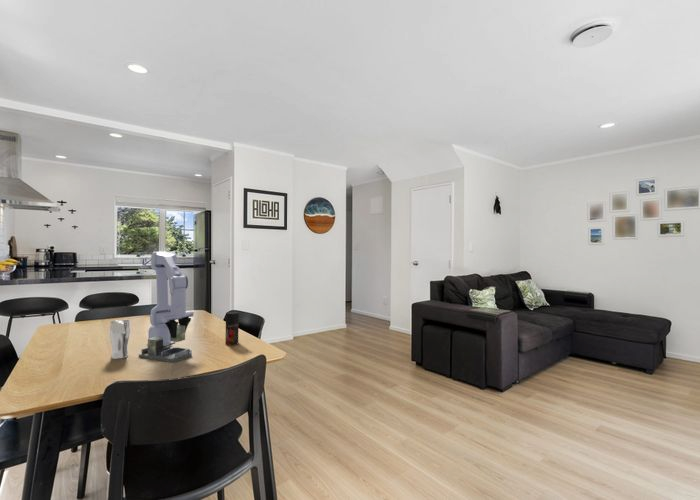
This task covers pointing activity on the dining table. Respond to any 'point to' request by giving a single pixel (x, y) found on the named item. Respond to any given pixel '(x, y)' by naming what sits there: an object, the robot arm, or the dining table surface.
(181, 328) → the sage green rectangular prism
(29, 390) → the dining table surface
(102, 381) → the dining table surface
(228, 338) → the deodorant
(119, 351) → the beer glass
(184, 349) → the grey slotted rack
